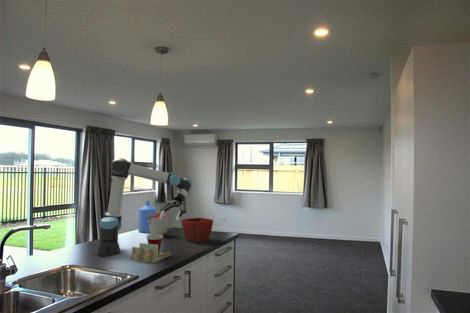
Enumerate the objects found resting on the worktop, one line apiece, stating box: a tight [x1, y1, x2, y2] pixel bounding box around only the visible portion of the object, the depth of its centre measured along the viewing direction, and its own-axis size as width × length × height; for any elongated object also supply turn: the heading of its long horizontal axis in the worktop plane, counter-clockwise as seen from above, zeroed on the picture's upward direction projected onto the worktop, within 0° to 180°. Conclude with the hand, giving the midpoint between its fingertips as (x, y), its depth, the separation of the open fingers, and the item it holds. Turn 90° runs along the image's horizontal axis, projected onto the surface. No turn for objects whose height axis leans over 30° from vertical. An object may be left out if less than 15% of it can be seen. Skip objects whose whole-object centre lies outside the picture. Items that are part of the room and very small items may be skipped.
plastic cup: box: [146, 234, 164, 254], centre depth 227 cm, size 11×11×12 cm
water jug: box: [137, 200, 157, 234], centre depth 317 cm, size 16×16×28 cm
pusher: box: [138, 242, 158, 257], centre depth 219 cm, size 14×1×8 cm, turn 67°
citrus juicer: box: [147, 212, 168, 237], centre depth 296 cm, size 16×17×20 cm
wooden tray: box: [130, 246, 172, 264], centre depth 221 cm, size 17×19×8 cm
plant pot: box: [180, 217, 214, 244], centre depth 276 cm, size 19×19×17 cm
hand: (168, 219), depth 236 cm, fingers open, 13 cm apart
